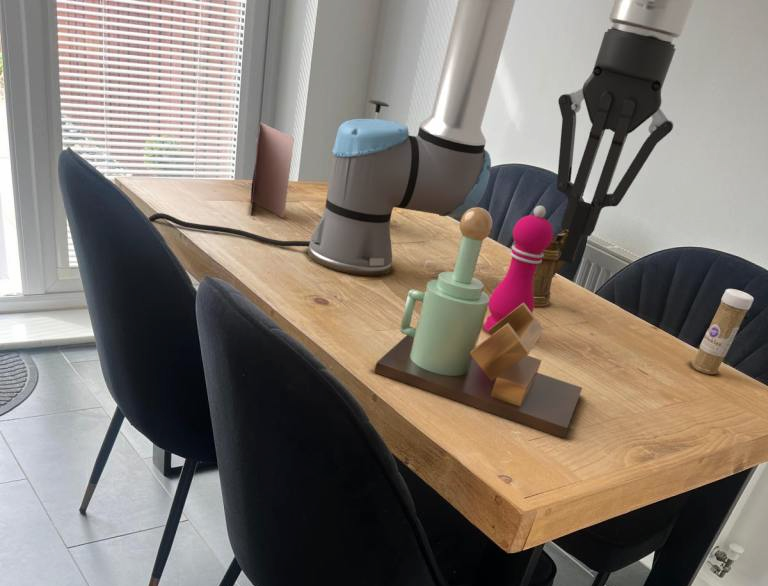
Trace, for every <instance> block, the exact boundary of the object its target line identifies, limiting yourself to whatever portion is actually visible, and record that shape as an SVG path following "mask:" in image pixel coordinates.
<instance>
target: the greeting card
mask: <svg viewBox="0 0 768 586" xmlns="http://www.w3.org/2000/svg"><path fill="white" fill-rule="evenodd" d="M254 133H255V135H257V133H256V131H254ZM255 139H256V141H255V142H256V144H257V146H256V153H255V154H256V155H255V163H254V169H253V174H252V181H251V189H250V206H251V210H253V209H252V208H253V202H254V203H256V204H257V205H259V206H261V207H262V208H265V209H266V210H268V211H270V212H272V213H273V214H275V215H276V216H279V217H280V218H282V219H284V218H285V213H286V206H287V198H288V197H287V196H288V189H289V188H288V187H289V182H290V181H289V180H290V173H291V172H290V171H291V164H292V157H293V149H294V148H293V147H294V140H295V137H293V136H291V135H289V134H287V133H285V132H283V131H281V130H279V129H276V128H274V127H271V126H269V125H267V124H264V123H262V122H259V130H258V136H255Z"/></svg>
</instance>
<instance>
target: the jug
mask: <svg viewBox="0 0 768 586" xmlns="http://www.w3.org/2000/svg"><path fill="white" fill-rule="evenodd" d="M492 229H493V218H492V216H491V214H490V212H489V211H488V210H486V209H485V208H483V207H480V206H476V207H474V208H471V209H469V210H467V211H466V212H465V213H464V214H463V216H462V217H460V221H459V230H460V233H461V234H462V236H461V240H460V245H459V247H458V251H457V252H458V253H457V255H456V259H455V263H454V267H453V270H452V271H442V272H440V273H439V274H438V277H437V279H431V280H429V281H427V283H426V286H425V291H424V292H423V291H420V290H417V289H414V288H412V289H410V290H408V293H407V297H406V302H405V305H404V310H403V314H402V318H401V323H400V327H399V331H400V333H401V334H403V335H405V336H407V335H408V336H411V337H414V340H413V344H412V349H411V353H410V358H411V360H412V361H413V362H414V363H415V364H416V365H418V366H419V367H421V368H423V369H425V370H428V371H430V372H433V373H437V374H441V375H448V376H460V375H464V374H466V373H468V372H469V370H470V366H471V363H472V359H473V357H472V356H471V354H470V352H471V351H472V350H473V349H474V348H476V347H477V346H478V342H479V338H480V334H481V332H482V328H483V324H484V321H485V318H486V314H487V311H488V309H489V308H488V304H489V301H490V296H489V295H488V294H487V293H486V292H485V291H484V288H485V285H484V283H483V282H482V281H481V280H479V279H478V278H476V277H474V274H475V269H476V267H477V263H478V260H479V255H480V252H481V249H482V244H483V241H484V240H485V239H486V238H488V236H489V235H490V234H491V232H492ZM416 301H418V302H420V303H421V306H420V311H419V315H418V320H417V324H416V328H415V327H413V326H411V323H412V318H413V314H414V310H415V306H416V305H415V304H416Z"/></svg>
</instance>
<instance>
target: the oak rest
mask: <svg viewBox="0 0 768 586" xmlns="http://www.w3.org/2000/svg"><path fill="white" fill-rule="evenodd" d="M544 330H545V329H544V326H542V325H541V322H540V321H539V320H538V319H537V318H536V316H535V315H534V313H532V312H531V311H530V310H529V308H528V307H527V306H526V304H525V303H522V304H521V305H520V306H518V307H517V308H516V309H514V310H513V311H512V312H511V313H509V314H508V315H507V316H505V317H504V318H503V319H501V320H500V321H499V322H498V323H496V324H495V325H494V326H492V327H491V328H490V329H489V330H488V331H489V333H488V334H489V336H488V337H487V338H486V339H485V340H483V341H482V342H481V343H480V344H477V346H476V348H474V349H473V350H472V351H471V352H470V354H471V356H472V357H473V358H474V359H475V361H476V362H477V363H478V364H479V366H480V367H481V368H482V370H483V371H484V372H485V373H486V375H487V376H488V377H489V378H490V380H491V381H492V380H493V379H495V378H496V377H497V378H496V381H495V384H494V388H493V391H492V394H491V397H493V398H496V399H499V400H502V401H504V402H507V403H510V404H513V405H516V406H519V407H520V406H521V404H522V402H523V400H524V399H525V397H526V395H527V393H528V391H529V389H530V387H531V385H532V384H533V382H534V380H535V378H536V375H537V373H539V369H540V366H541V364H542V359H539V358H537V357H534V356H531V355H529V354H530V353H531V351H532V349H533V347H534V346H535V344H536V342H537V341H538V339H539V338H540V336H541V335H542V332H543V331H544Z"/></svg>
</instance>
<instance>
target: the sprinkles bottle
mask: <svg viewBox="0 0 768 586" xmlns="http://www.w3.org/2000/svg"><path fill="white" fill-rule="evenodd" d="M720 300H721V301H720V303H719V306H718V308H717V311H715V314H714V317H713V318H712V319H711V320H712V321H711V322H710V325H709V327H708V328H707V330H706V332H705V334H704V336H703V338H702V341H701V342H700V345H699V348H698V350H697V352H696V354H695V356H694V359H693V360H692V361H691V366H692V367H693V368H694V369H695V370H697V371H698V372H700V373H702V374H706V375H716V374H718V373H719V370H720V367H721V365H722V363H723V361H724V359H725V357H726V356H727V354H728V351H729V349H730V348H731V345H732V343H733V341H734V340H735V337H736V336H737V333H738V331H739V329H740V326H741V324H742V322H743V320H744V318H745V316H746V314H747V312H749V310H750V308H751V307H752V305H753V302H754V300H755V298H754V297H753V296H752V294H751V295H750V294H749V293H747V292H744V291H742V290H739V289H735V288H727V289H725V290H724V293H723V294H722V297H721V298H720Z"/></svg>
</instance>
